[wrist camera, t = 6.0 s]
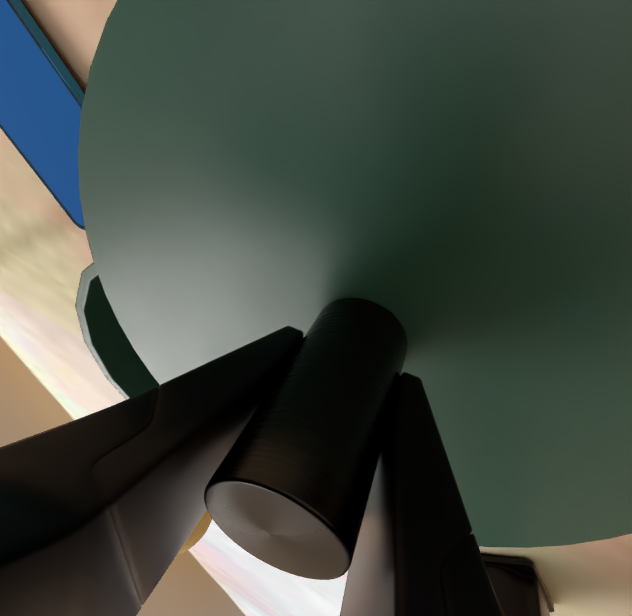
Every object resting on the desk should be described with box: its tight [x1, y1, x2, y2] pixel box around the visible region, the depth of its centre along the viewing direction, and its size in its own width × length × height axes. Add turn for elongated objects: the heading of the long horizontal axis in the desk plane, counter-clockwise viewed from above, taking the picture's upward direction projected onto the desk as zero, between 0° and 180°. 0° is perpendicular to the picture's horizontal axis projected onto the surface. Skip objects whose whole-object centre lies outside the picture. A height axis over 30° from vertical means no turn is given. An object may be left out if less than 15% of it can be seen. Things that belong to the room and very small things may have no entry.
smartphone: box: [0, 0, 85, 230], centre depth 22 cm, size 7×1×15 cm
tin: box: [75, 262, 160, 400], centre depth 25 cm, size 16×16×5 cm
